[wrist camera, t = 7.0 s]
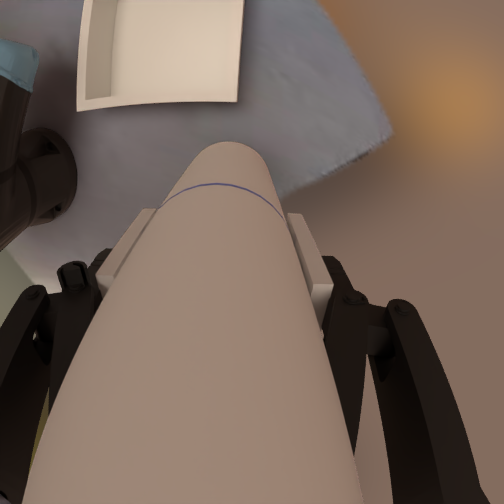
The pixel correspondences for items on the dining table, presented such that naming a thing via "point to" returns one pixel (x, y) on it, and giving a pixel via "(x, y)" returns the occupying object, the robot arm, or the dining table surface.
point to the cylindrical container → (202, 364)
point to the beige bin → (158, 52)
